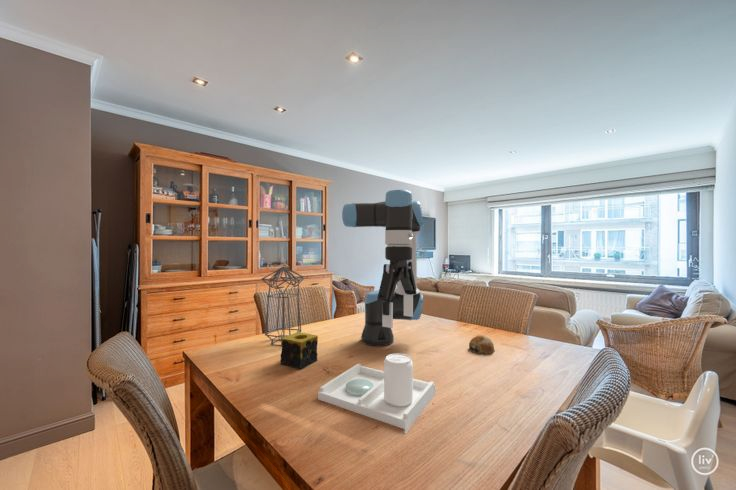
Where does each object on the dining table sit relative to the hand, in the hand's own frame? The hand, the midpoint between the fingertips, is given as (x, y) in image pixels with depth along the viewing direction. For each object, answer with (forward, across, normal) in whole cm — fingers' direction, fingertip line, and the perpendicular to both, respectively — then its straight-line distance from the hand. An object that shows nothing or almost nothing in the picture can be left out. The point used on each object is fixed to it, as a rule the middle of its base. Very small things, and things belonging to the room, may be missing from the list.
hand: (398, 321), depth 85 cm
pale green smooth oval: (+22, 0, +13) cm, 26 cm away
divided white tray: (+24, 0, +6) cm, 24 cm away
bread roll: (+24, +58, -12) cm, 64 cm away
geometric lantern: (+24, +22, +68) cm, 76 cm away
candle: (+24, +8, +45) cm, 52 cm away
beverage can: (+23, 0, 0) cm, 23 cm away
